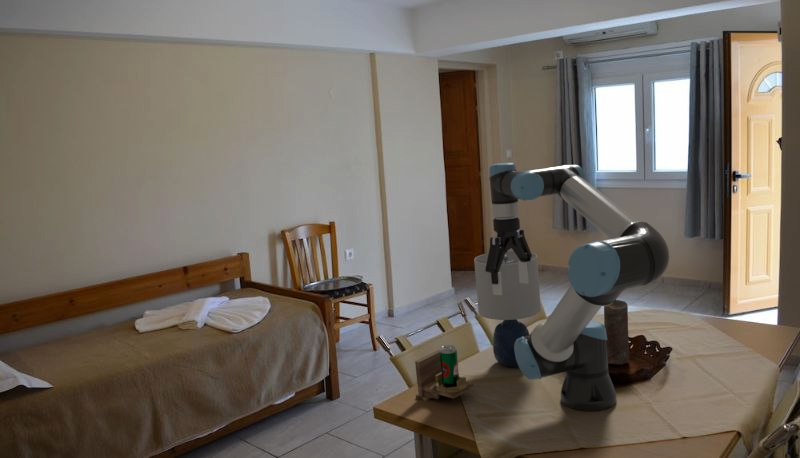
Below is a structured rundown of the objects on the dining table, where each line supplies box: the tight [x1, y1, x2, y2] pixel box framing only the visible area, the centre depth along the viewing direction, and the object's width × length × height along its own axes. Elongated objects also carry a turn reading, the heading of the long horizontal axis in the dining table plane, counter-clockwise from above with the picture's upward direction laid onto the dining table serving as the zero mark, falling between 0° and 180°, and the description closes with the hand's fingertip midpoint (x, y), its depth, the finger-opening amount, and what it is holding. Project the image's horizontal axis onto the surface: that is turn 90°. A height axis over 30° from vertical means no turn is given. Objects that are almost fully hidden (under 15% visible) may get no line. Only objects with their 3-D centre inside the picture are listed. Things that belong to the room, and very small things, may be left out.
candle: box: [603, 299, 630, 366], centre depth 206 cm, size 8×7×20 cm
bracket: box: [414, 349, 475, 402], centre depth 194 cm, size 14×11×12 cm
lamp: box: [473, 250, 542, 368], centre depth 214 cm, size 20×20×37 cm
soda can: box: [439, 344, 460, 388], centre depth 192 cm, size 5×5×12 cm
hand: (511, 288), depth 189 cm, fingers open, 13 cm apart
